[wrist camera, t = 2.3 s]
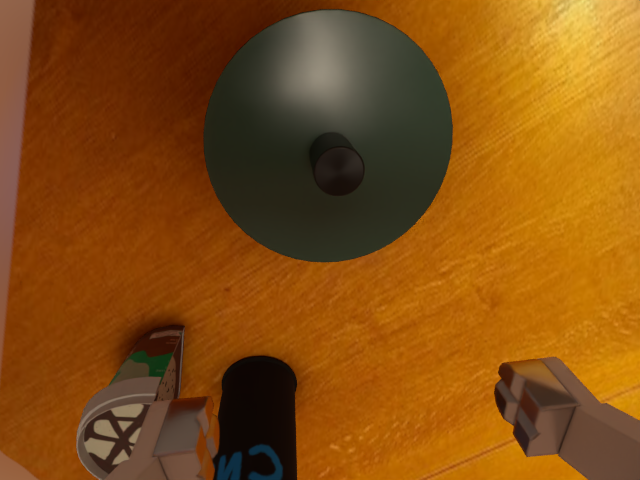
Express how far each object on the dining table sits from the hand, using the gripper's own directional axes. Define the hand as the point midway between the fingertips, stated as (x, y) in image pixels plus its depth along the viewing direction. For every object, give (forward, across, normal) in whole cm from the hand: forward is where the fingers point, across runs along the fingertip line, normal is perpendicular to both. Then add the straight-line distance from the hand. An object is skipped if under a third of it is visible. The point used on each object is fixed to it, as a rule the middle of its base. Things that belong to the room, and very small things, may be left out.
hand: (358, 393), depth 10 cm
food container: (+23, +18, +18) cm, 34 cm away
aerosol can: (+23, +7, +24) cm, 34 cm away
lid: (+13, -1, -4) cm, 14 cm away
